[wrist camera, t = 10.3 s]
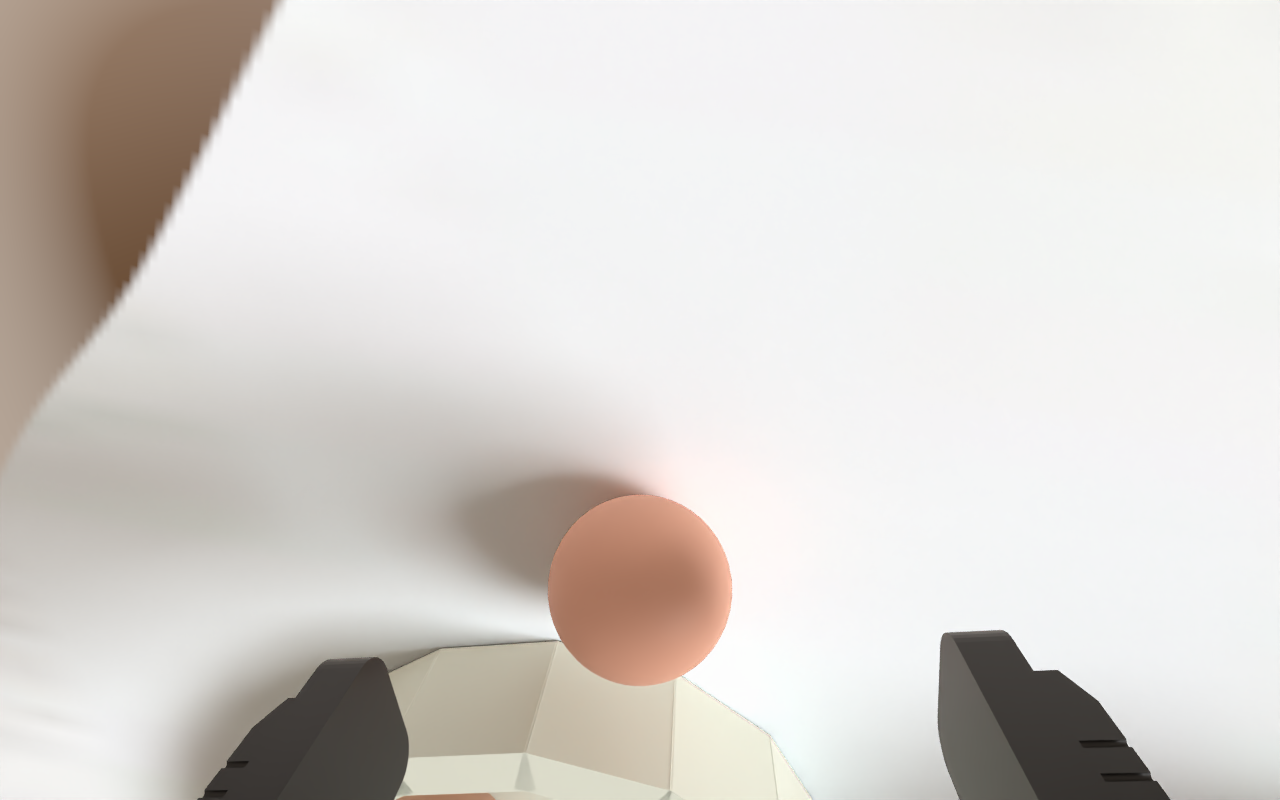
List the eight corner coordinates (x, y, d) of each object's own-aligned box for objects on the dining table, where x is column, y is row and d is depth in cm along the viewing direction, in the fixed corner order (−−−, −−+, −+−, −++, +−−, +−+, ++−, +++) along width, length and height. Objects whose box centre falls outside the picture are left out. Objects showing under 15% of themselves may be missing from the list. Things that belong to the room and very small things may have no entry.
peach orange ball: (735, 600, 15) (746, 726, 12) (581, 610, 16) (549, 735, 12) (718, 457, 14) (726, 551, 11) (552, 472, 14) (509, 568, 11)
